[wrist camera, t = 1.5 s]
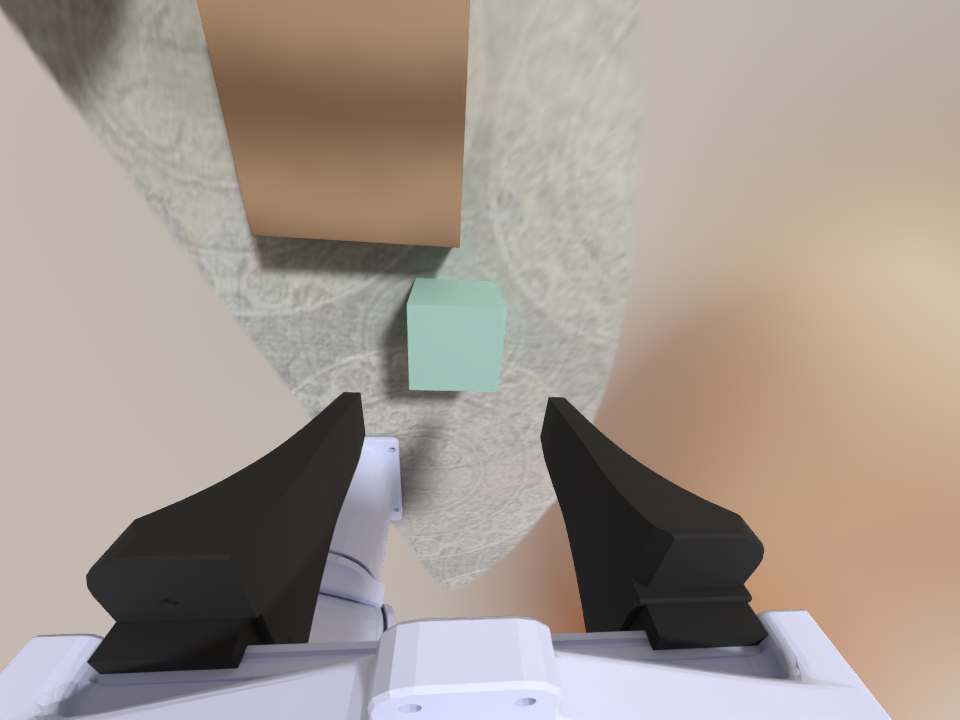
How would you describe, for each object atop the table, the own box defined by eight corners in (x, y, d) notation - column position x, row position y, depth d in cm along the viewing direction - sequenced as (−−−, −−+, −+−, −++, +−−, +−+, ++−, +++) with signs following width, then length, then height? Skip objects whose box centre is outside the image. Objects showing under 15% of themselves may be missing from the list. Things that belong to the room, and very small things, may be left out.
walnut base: (458, 237, 20) (459, 247, 18) (278, 226, 19) (251, 234, 17) (468, 3, 15) (471, -31, 13) (229, -28, 14) (180, -72, 12)
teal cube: (489, 351, 24) (497, 391, 20) (417, 349, 24) (409, 389, 19) (496, 281, 22) (507, 309, 17) (416, 277, 21) (406, 304, 17)
